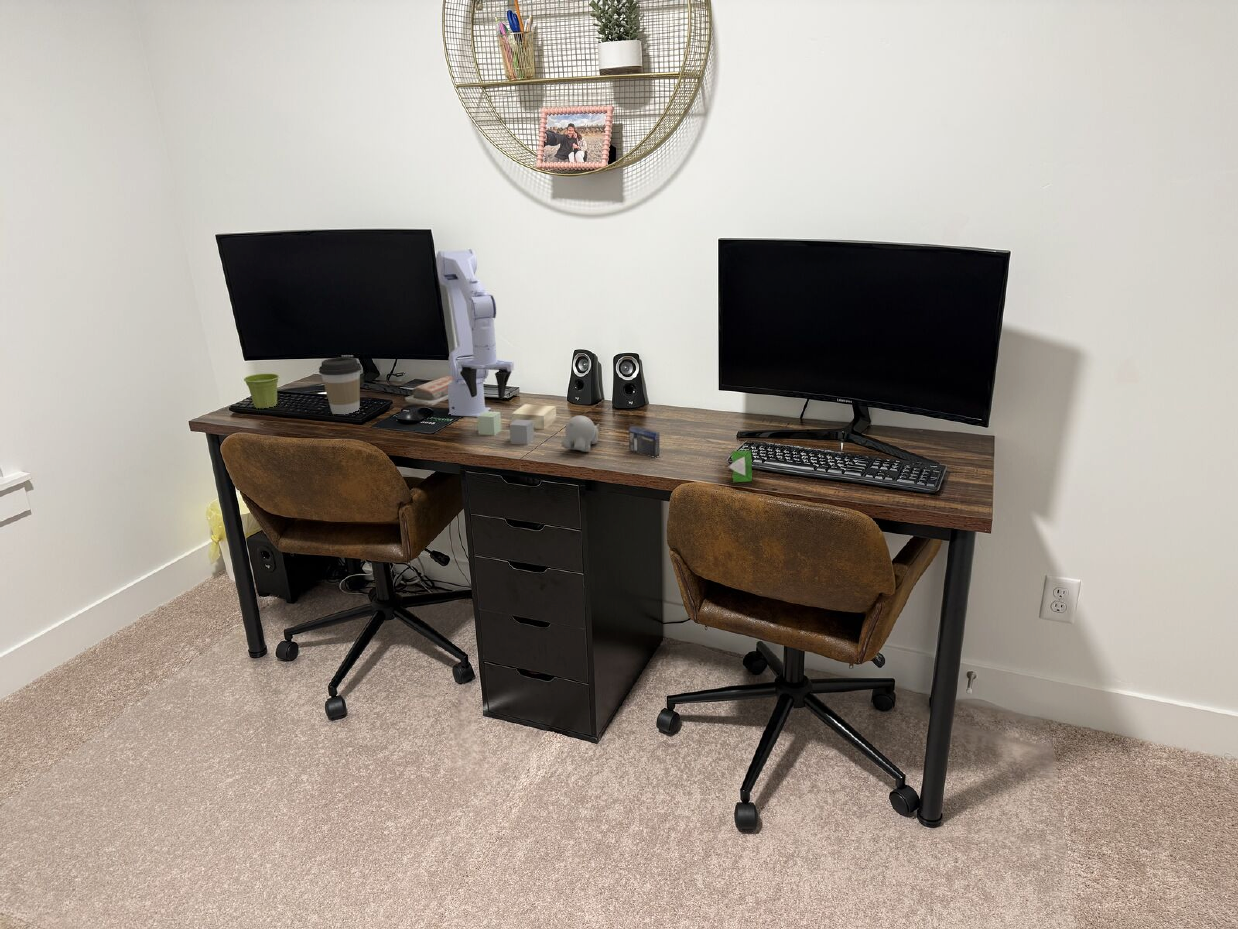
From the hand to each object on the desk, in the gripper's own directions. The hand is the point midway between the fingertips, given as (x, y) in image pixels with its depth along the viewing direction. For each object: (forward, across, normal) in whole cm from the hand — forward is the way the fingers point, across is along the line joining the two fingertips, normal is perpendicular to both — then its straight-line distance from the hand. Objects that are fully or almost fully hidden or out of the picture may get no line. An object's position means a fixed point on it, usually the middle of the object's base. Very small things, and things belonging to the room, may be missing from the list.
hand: (487, 397), depth 219 cm
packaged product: (+10, -30, +29) cm, 43 cm away
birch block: (+10, +8, +10) cm, 16 cm away
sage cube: (+10, 0, 0) cm, 10 cm away
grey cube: (+10, +11, -5) cm, 15 cm away
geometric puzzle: (+10, +68, -19) cm, 71 cm away
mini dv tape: (+10, +43, -7) cm, 45 cm away
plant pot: (+10, -74, +8) cm, 75 cm away
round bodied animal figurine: (+10, +28, -7) cm, 30 cm away
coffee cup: (+10, -47, +7) cm, 48 cm away
